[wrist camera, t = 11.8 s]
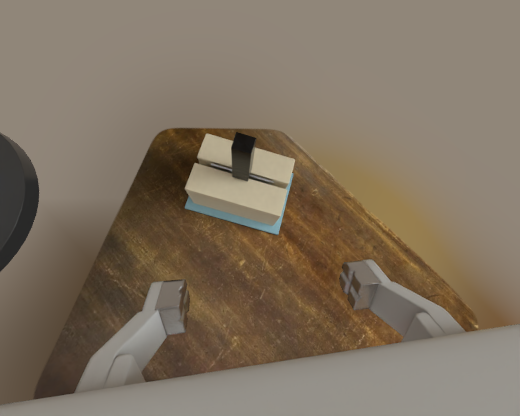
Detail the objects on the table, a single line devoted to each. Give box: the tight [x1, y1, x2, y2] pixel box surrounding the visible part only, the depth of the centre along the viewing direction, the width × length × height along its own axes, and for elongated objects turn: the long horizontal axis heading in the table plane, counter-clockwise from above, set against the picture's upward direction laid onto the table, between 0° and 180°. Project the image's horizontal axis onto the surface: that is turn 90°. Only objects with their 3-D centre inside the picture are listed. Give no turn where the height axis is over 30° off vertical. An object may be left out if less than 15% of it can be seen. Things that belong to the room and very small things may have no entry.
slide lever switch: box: [185, 134, 295, 235], centre depth 32 cm, size 14×10×7 cm
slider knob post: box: [211, 132, 273, 185], centre depth 28 cm, size 8×2×13 cm, turn 75°
